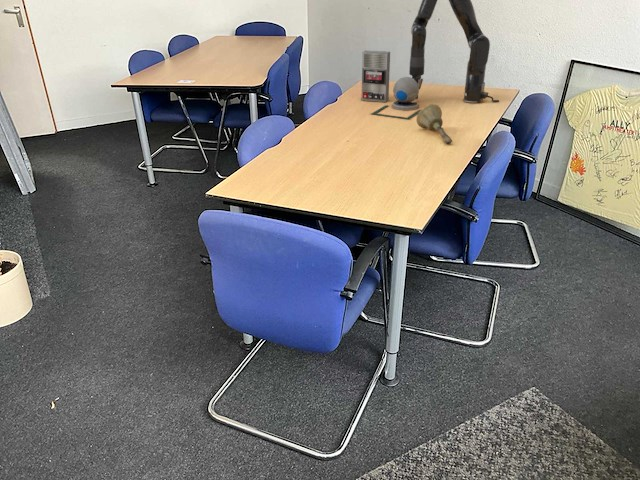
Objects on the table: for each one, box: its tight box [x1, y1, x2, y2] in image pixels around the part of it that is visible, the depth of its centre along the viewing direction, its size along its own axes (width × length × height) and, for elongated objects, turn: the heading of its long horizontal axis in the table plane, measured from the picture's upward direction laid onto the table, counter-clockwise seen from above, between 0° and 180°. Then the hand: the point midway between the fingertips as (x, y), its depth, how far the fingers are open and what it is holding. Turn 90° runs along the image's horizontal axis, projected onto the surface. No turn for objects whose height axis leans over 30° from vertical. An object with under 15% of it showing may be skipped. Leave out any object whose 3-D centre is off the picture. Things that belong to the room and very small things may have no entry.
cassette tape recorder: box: [360, 50, 391, 103], centre depth 282 cm, size 14×6×25 cm, turn 68°
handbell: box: [416, 103, 453, 145], centre depth 231 cm, size 12×12×25 cm
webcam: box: [391, 76, 420, 111], centre depth 272 cm, size 13×13×15 cm
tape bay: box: [371, 105, 421, 120], centre depth 267 cm, size 20×17×1 cm
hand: (415, 98), depth 283 cm, fingers closed
